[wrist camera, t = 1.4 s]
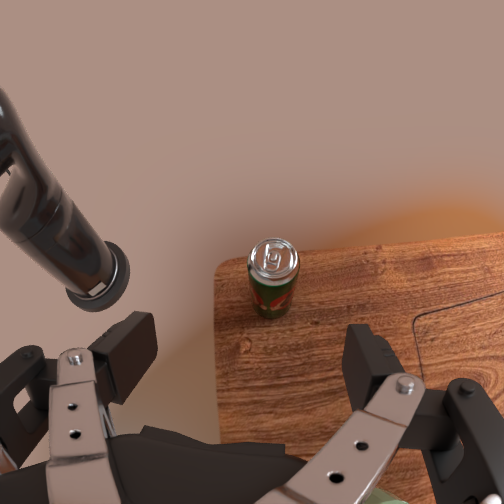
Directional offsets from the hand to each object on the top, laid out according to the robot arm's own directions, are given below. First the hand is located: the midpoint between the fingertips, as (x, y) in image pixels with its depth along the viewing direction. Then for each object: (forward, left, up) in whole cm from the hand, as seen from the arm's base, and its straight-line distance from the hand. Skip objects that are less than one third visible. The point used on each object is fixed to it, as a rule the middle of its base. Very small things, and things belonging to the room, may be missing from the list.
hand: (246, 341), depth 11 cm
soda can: (-4, +10, -24) cm, 27 cm away
